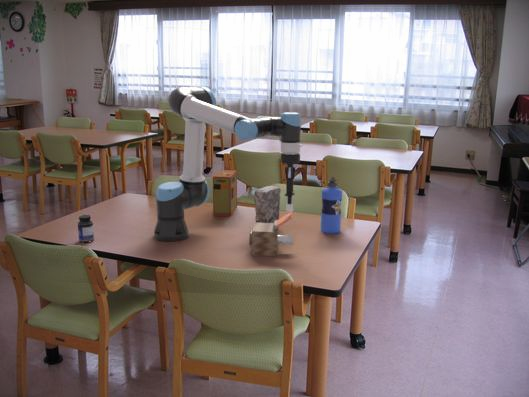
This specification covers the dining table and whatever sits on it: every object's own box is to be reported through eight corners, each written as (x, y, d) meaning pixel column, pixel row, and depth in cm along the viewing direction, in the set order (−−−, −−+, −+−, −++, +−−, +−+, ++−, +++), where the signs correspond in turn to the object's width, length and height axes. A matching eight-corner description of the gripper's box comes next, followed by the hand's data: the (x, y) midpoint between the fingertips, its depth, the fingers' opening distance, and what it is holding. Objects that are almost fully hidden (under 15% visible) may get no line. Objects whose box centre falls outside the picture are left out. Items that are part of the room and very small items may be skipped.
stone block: (267, 235, 239) (267, 191, 234) (253, 233, 242) (253, 189, 237) (280, 227, 250) (281, 186, 245) (267, 225, 253) (268, 184, 248)
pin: (249, 247, 217) (249, 233, 215) (251, 243, 222) (251, 229, 221) (291, 249, 215) (292, 235, 214) (292, 244, 221) (292, 230, 219)
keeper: (274, 231, 212) (271, 227, 212) (275, 224, 221) (273, 221, 221) (292, 219, 210) (290, 216, 210) (293, 213, 219) (291, 210, 219)
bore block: (251, 255, 214) (251, 231, 212) (254, 245, 226) (254, 222, 223) (276, 256, 213) (276, 232, 211) (278, 246, 225) (278, 223, 222)
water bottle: (316, 231, 246) (317, 177, 239) (328, 226, 252) (330, 174, 246) (332, 235, 239) (334, 180, 233) (344, 230, 246) (347, 177, 240)
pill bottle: (78, 239, 231) (76, 215, 229) (93, 237, 234) (91, 213, 231) (79, 243, 226) (77, 218, 223) (94, 242, 228) (93, 217, 225)
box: (220, 206, 286) (220, 170, 281) (237, 207, 284) (236, 170, 280) (213, 215, 270) (212, 176, 265) (230, 216, 268) (230, 177, 263)
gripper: (299, 155, 202) (298, 215, 208) (300, 150, 215) (299, 207, 220) (279, 155, 203) (279, 215, 208) (281, 149, 215) (281, 206, 221)
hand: (289, 211), depth 214 cm, fingers closed
